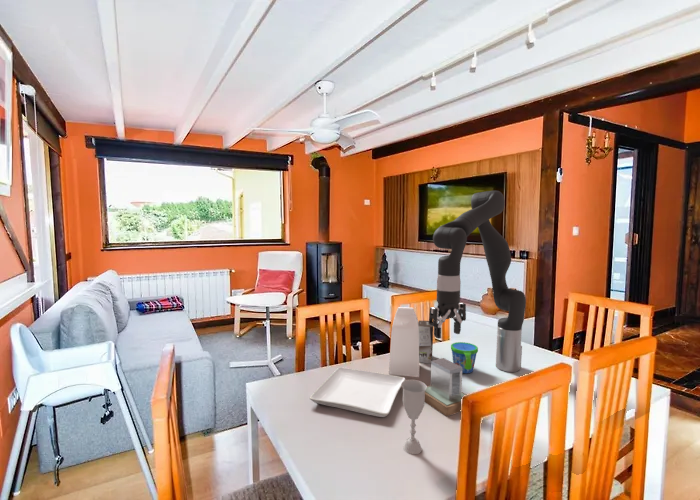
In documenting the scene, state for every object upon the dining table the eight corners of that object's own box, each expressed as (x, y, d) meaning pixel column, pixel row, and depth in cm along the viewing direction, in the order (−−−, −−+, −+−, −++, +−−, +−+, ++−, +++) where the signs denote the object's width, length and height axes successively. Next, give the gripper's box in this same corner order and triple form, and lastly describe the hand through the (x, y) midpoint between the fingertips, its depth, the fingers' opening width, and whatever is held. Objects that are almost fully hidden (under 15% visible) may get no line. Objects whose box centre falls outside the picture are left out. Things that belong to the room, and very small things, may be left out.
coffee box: (432, 363, 162) (433, 326, 160) (417, 362, 163) (417, 325, 162) (432, 355, 171) (433, 320, 169) (417, 354, 172) (418, 319, 171)
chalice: (397, 440, 108) (398, 380, 106) (421, 439, 108) (422, 379, 106) (403, 457, 100) (404, 392, 98) (428, 456, 101) (430, 391, 99)
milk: (419, 365, 160) (420, 305, 157) (419, 377, 149) (420, 312, 146) (390, 363, 162) (391, 303, 159) (388, 374, 151) (389, 310, 148)
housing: (442, 385, 134) (443, 357, 133) (461, 396, 126) (462, 367, 125) (430, 389, 132) (431, 360, 131) (449, 400, 124) (450, 370, 123)
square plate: (308, 408, 126) (308, 397, 125) (339, 375, 151) (339, 365, 151) (387, 424, 116) (387, 412, 116) (406, 386, 142) (406, 376, 142)
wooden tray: (443, 389, 138) (444, 381, 138) (473, 407, 126) (473, 397, 126) (418, 397, 132) (418, 388, 132) (446, 416, 120) (446, 406, 120)
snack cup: (448, 361, 164) (449, 339, 163) (474, 363, 162) (475, 340, 161) (451, 377, 149) (452, 352, 148) (479, 379, 147) (480, 354, 146)
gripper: (456, 283, 132) (454, 329, 133) (424, 288, 125) (423, 336, 126) (472, 287, 125) (471, 335, 127) (440, 292, 118) (438, 342, 120)
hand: (447, 335), depth 127 cm, fingers open, 8 cm apart
